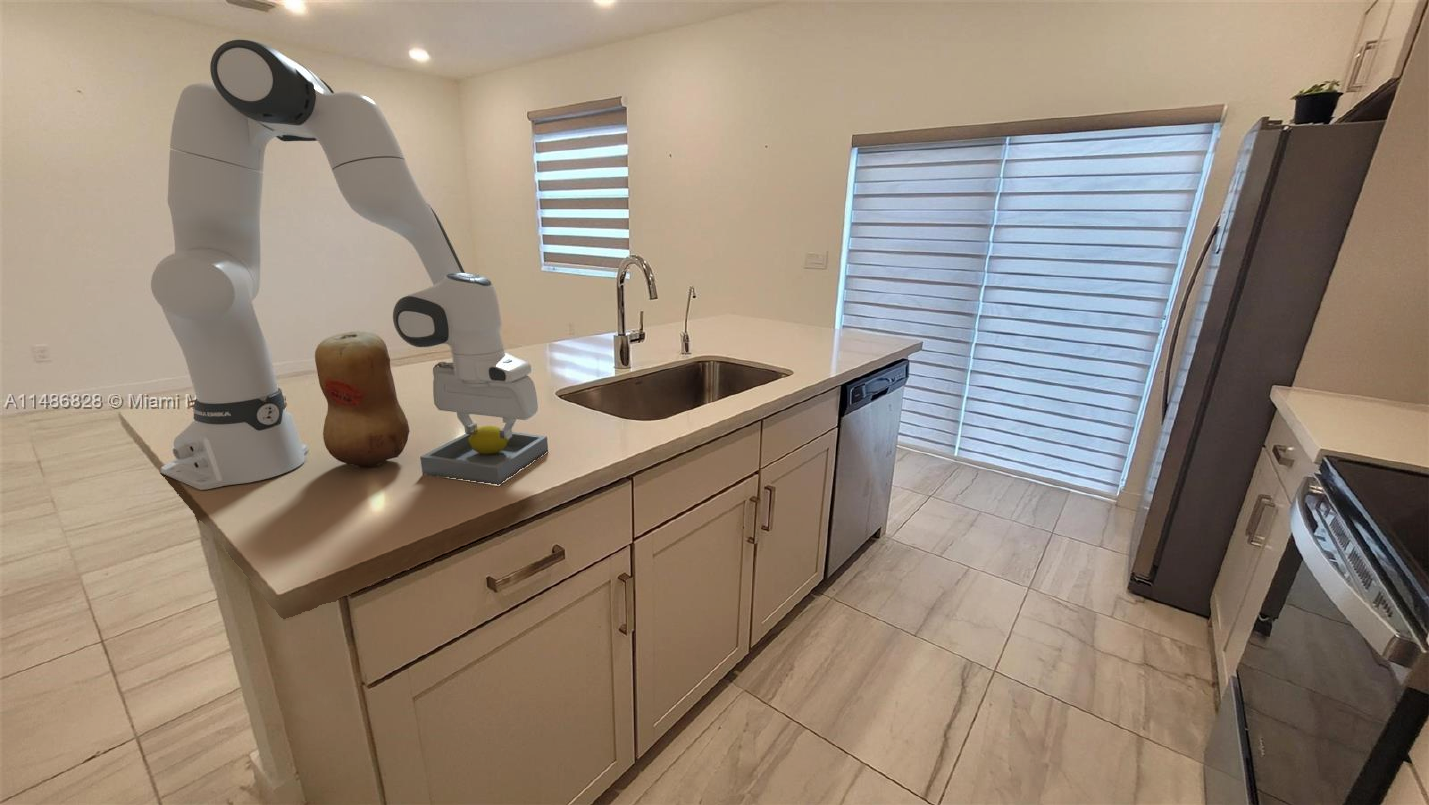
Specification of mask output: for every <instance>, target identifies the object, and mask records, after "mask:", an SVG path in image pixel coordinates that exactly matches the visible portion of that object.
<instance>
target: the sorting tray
mask: <svg viewBox="0 0 1429 805" xmlns="http://www.w3.org/2000/svg"><path fill="white" fill-rule="evenodd" d="M478 428H480V426H479V427H478V426H477V429H478ZM470 437H471V434H466V433H465V434H463V435H460V436H459V437H457V438H455V439H452V440H450V441H448V442H446V443H445V444H442V445H441V446H439V447H437V448H435V449H433V450H431V451H429V452H427V453H424V454H423V455H421V456H420V458H419V459H420V464H421V472H422V475H423V474H426V475H425V476H429V475H432V476H431V477H435V476H439V477H438V478H442V477H449V478H456V479H463V480H470V481H476V482H484V483H491V484H497V485H499V484H501V483H502V482H503V481H505V480H506V479H507V478H509V477H511V476H513V475H514V474H516V473H517V472H518V471H519V470H520V469H522V468H525V467H526V466H527V465H529V464H530V463H532V462H533V461H534V460H537V459H538V458H540V457H541V456H542V455H544V454H545V453H546V452H548V453H549V446H548V445H549V444H548V435H547V436H546V435H541V434H540V435H538V434H531V433H524V432H518V431H517V432H516V431H512V437H511V438H509V441H508V443H507V445H506V447H505V448H504V449H503V450H502V451H500V452H498V453H494V454H481V453H478V452H476V451H475V450H474V449H473V448H472V447H471V444H470V443H469V442H468V439H469V438H470ZM545 455H546V454H545ZM545 455H544V456H545ZM541 458H542V457H541ZM541 458H540V459H541ZM538 460H539V459H538ZM538 460H537V461H538ZM525 469H526V468H525Z"/></svg>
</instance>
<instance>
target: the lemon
mask: <svg viewBox="0 0 1429 805" xmlns="http://www.w3.org/2000/svg"><path fill="white" fill-rule="evenodd" d="M477 428H478V427H477ZM501 429H502V428H501V427H499V426H494V425H483V426H479V428H478V431H477V433H475V434H474V435H471V437H470V438H469V439H468V442H469V443H470V444H471V447H472V448H473V449H474V450H475V451H476V452H478V453H481V454H494V453H498V452H500V451H502V450H503V449H504V448H505V447H506V445H507V443H508V441H509V439H502V438H500V433H499V430H501Z"/></svg>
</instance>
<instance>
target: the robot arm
mask: <svg viewBox="0 0 1429 805" xmlns="http://www.w3.org/2000/svg"><path fill="white" fill-rule="evenodd" d="M209 69H210V70H209V71H210V76H211V80H212V83H205V82H204V83H202V82H201V83H200V82H199V83H193V84H190V85H187V86H186V87H185V88H184V89H183V90H182V91H181V93H180V95H179V98H178V101H177V105H176V108H175V110H174V111H175V112H174V115H173V121H172V124H171V125H172V126H171V133H170V144H169V161H168V179H167V181H168V182H167V183H168V184H167V185H168V186H167V204H168V205H167V206H168V207H169V211H170V216H171V222H172V230H173V240H174V253H172V254H169V255H167V256H166V257H164V258H163V259H162V260H160V261H159V262H158V264H157V265H156V266H155V269H154V271H153V272H152V276H151V280H150V290H151V293H152V295H153V297H154V299H155V300H156V303H158V304H159V306H161V309H162V312H163V314H164V317H165V319H166V320H167V323H168V325H169V327H170V329H171V331H172V333H173V336H174V337H175V338H176V340H177V343H178V345H179V347H180V349H181V351H182V353H183V357H184V359H185V363H186V365H187V369H188V373H189V377H190V379H191V382H192V387H193V389H194V391H193V392H194V394H195V396H196V399H193V400H189V401H187V403H188V404H189V403H193V404H191V405H189V408H193V409H192V410H193V417H192V418H193V421H191V423H190V424H189V425H187V427H185V429H184V430H182V432H180V433H179V434H178V435H177V436H175V438H174V440H173V448H172V453H173V456H174V457H175V459H173V460H171V461H170V462H167V463H166V464H164V465H162V466H161V467H160V471H161V474H163V475H166V476H168V477H170V478H172V479H174V480H176V481H179V482H181V483H184V484H185V485H188V486H190V487H193V488H195V489H197V490H199V491H200V490H202V491H205V490H206V491H207V490H210V489H214V488H215V489H216V488H220V487H223V486H225V487H226V486H231V485H239V484H240V485H241V484H247V483H248V484H249V483H253V482H259V481H262V480H266V479H270V478H274V477H277V476H280V475H282V474H285V473H288V472H290V471H292V470H294V469H297V468H299V467H300V466H301V465H303V463H304V462H305V461H306V455H305V454H306V453H307V452H308V450H309V448H308V445H307V444H304V443H302V441H301V438H300V435H299V433H298V429H297V427H296V424H295V422H294V418H293V416H292V414H291V413H290V412H288V411H286V410H285V409H286V406H287V405H286V402H285V399H286V398H285V395H283V390H282V389H281V388H280V387H279V386H278V382H277V377H276V374H275V369H274V365H273V360H272V355H271V351H270V347H269V345H268V343H267V341H266V338H265V337H264V334H263V331H262V329H261V327H260V323H259V319H258V318H257V314H256V310H255V308H254V304H253V301H254V300H255V298H257V296H258V294H259V291H260V286H261V283H260V282H261V232H260V231H261V229H260V228H261V227H260V224H261V223H260V221H261V208H262V206H261V205H262V193H263V180H264V179H263V178H264V165H265V164H264V162H265V154H266V152H265V151H266V148H267V145H268V144H269V142H270V141H271V140H272V139H273V138H277V139H278V140H280V141H282V142H316V141H317V142H318V144H320V146H321V148H322V150H323V152H324V154H325V157H326V159H327V161H328V164H329V167H330V169H331V171H332V174H333V176H334V179H335V181H336V184H337V187H338V188H339V191H340V193H341V195H342V196H343V199H344V200H345V201H346V203H347V204H348V205H349V207H350V208H351V210H352V211H354V212H355V213H356V214H358V215H359V216H360V217H362V218H364V219H365V220H368V221H369V222H371V223H373V224H376V225H378V226H381V227H385V228H386V229H389V230H390V231H393V232H395V233H397V234H398V235H400V236H401V237H403V238H404V239H405V240H407V242H408V243H410V244H411V245H412V247H413V248H414V250H415V251H416V253H417V254H418V257H419V259H420V261H421V262H422V263H421V264H422V265H423V267H424V268H425V270H426V273H427V274H428V276H429V278H430V281H431V282H432V284H433V285H432V286H430V287H428V288H425V289H422V290H420V291H417V292H412V293H411V294H408V295H406V296H403V297H402V298H400V299H399V300H397V302H396V303H395V304H394V308H393V312H392V321H393V325H394V328H395V330H396V332H397V333H398V335H399V337H400V338H401V339H402V340H403V341H404V342H406V343H407V344H409V345H411V346H412V347H415V348H430V347H431V348H432V347H435V346H438V345H448V346H449V348H450V354H451V359H452V361H451V362H446V361H439V362H437V363H436V364H434V366H433V368H432V375H433V382H432V383H433V384H432V392H433V403H434V406H435V407H436V409H437V410H438V411H443V412H451V413H456V415H457V419H458V420H459V421H460V423H461V424H462V426H463V427H464V433H465V434H471V435H474V434H475V433H477V431H478V429H477V428H478V423H475V422H473V420H472V418H471V416H470V415H478V416H485V417H487V416H488V417H495V418H501V419H502V423H504V427H503V428H501V430H499V433H500V438H502V439H509V438H511V437H512V432H513V427H514V425H515V423H516V421H517V420H521V421H526V420H527V421H528V420H529V419H530V418H532V417H534V416H535V415H536V414H537V412H538V411H539V403H538V397H537V396H538V395H537V390H536V385H535V383H534V381H533V379H532V378H531V377H530V376H529V375H530V374H531V373H532V365H531V364H530V363H529V362H527V361H525V360H524V359H521V358H519V357H516V356H514V355H512V354H510V353H508V352H507V351H506V352H505V347H504V346H505V345H504V342H503V340H502V337H501V328H502V318H501V312H500V304H499V299H498V297H497V296H498V295H497V292H496V289H495V287H494V286H495V285H493V283H492V281H491V280H490V279H488V278H487V277H486V276H483V275H479V274H476V273H472V272H470V273H469V272H465V269H464V268H463V266H462V264H461V262H460V259H459V257H458V255H457V253H456V251H455V249H454V246H453V245H452V242H451V240H450V239H449V236H448V234H447V232H446V230H445V229H444V228H445V227H443V225H442V222H441V220H440V219H439V217H438V215H437V214H436V212H435V210H434V209H433V208H432V207H431V205H430V204H429V203H428V202H427V201H426V199H425V197H424V196H423V195H422V192H421V191H420V189H419V188H418V184H416V181H415V180H414V178H413V176H412V174H411V172H410V169H409V167H408V164H407V161H406V159H405V157H404V153H403V151H402V148H401V146H400V145H399V142H398V140H397V138H396V136H395V134H394V132H393V129H392V128H391V126H390V124H389V122H388V120H387V119H386V117H385V115H384V113H383V111H382V110H381V108H380V107H379V106H378V105H377V103H376V102H375V101H374V100H373V99H371V98H369V97H368V96H365V95H363V94H360V93H358V92H351V91H337V92H335V91H334V90H333V89H332V88H331V86H329V85H328V84H327V82H325V81H324V80H322V78H319V77H318V76H317V75H316V74H315V73H314V72H312V71H311V70H310V69H309V68H307V67H306V66H304V65H303V64H302V63H300V62H298V61H296V60H294V59H291V58H290V57H287V56H286V55H284V54H283V53H281V52H280V51H279V50H277V49H274V48H273V47H271V46H268V45H267V44H263V43H262V42H261V43H260V42H258V41H253V40H249V39H248V40H247V39H233V40H229V41H227V42H224V43H222V44H221V45H220V46H218V48H216V49H215V51H214V53H213V54H212V56H211V61H210V65H209Z"/></svg>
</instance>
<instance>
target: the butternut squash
mask: <svg viewBox="0 0 1429 805" xmlns="http://www.w3.org/2000/svg"><path fill="white" fill-rule="evenodd" d="M314 362H315V366H316V367H315V369H316V372H317V373H316V374H317V377H318V378H317V379H318V384H319V387H320V389H321V392H322V394H323V396H324V398H325V399H326V402H327V411H326V416H325V419H324V423H323V424H324V425H323V430H322V438H323V443H324V446H325V448H326V450H327V451H328V453H329V454H330V455H331V456H332V457H333V458H334V459H336V460H337V461H339V463H340V462H341V463H343V464H347V465H351V466H356V467H358V468H359V467H360V468H374V467H378V466H380V465H381V463H383V462H386V461H388V460H392V459H396V458H398V457H399V456H400V455H401V454H402V453H403V451H404V449H405V447H406V445H407V443H408V439H409V433H410V426H409V421H408V419H407V417H406V415H405V412H404V410H403V408H402V407H401V405H400V402H399V400H398V396H397V391H396V390H397V389H396V385H395V381H394V376H393V374H392V369H391V358H390V354H389V351H388V347H387V345H386V343H385V341H384V340H383V338H381V337H380V336H379V335H378V334H376V333H373V332H369V331H362V330H353V331H349V332H347V331H346V332H344V333H338V334H334V335H331V336H329V337H327V338H324V339H323V340H321V342H319V344H318V345H317V347H316V349H315V353H314Z"/></svg>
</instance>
